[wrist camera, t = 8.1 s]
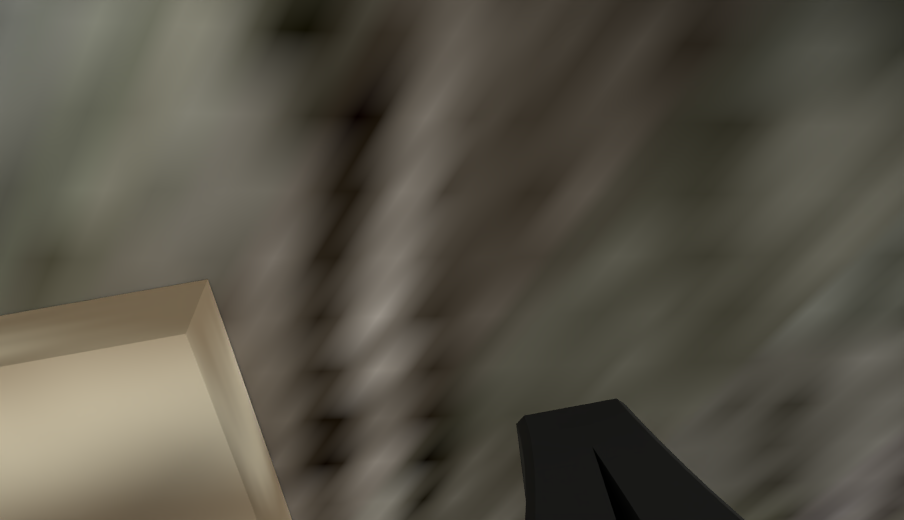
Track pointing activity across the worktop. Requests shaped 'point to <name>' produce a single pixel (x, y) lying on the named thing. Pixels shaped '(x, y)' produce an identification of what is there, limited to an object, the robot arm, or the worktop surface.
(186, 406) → the board
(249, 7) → the worktop surface
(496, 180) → the worktop surface
